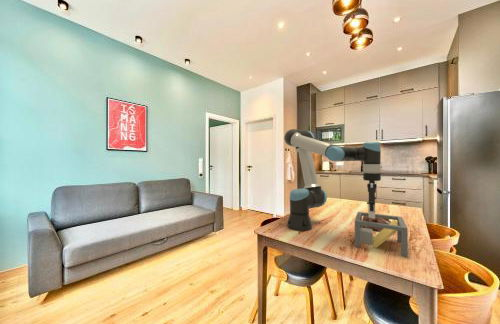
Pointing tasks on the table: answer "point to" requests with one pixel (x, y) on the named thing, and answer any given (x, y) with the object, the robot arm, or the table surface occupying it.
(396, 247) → the table surface
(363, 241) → the grey cube
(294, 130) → the robot arm
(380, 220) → the rock
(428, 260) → the table surface
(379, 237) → the hatch
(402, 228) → the frame
